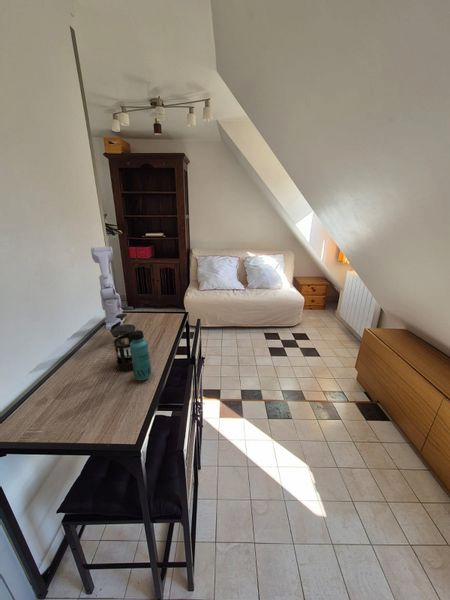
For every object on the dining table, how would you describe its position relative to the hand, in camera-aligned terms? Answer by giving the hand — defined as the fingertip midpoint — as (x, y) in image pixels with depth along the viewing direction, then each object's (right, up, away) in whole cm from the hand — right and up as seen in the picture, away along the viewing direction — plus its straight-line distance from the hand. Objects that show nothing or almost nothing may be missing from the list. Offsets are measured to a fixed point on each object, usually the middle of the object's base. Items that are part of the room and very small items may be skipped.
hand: (116, 336), depth 124 cm
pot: (+6, -2, +1) cm, 7 cm away
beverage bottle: (+23, -12, -28) cm, 38 cm away
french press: (+14, -9, -19) cm, 25 cm away
